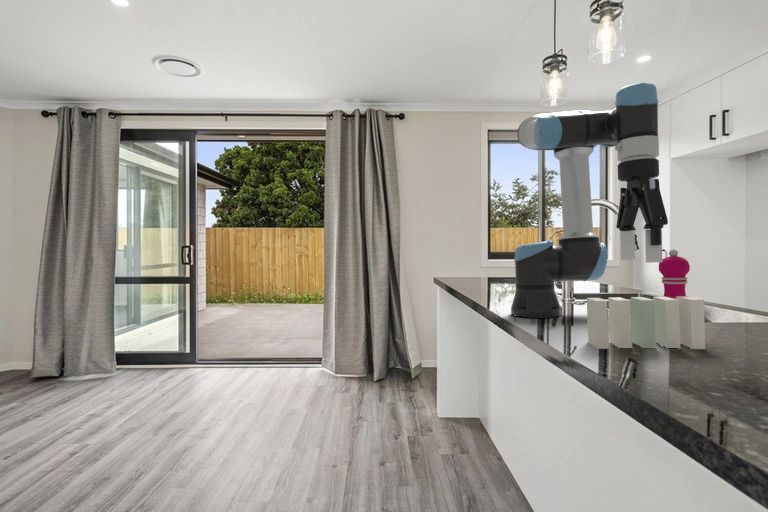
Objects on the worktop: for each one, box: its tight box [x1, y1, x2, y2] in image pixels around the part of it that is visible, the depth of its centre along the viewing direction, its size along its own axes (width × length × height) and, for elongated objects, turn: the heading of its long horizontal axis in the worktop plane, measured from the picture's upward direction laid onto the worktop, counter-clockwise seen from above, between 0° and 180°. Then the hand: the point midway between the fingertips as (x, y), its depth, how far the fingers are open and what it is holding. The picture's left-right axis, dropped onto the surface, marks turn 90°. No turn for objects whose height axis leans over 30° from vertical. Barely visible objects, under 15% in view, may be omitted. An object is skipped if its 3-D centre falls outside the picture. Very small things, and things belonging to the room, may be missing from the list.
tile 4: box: [652, 296, 681, 350], centre depth 90 cm, size 6×2×10 cm, turn 169°
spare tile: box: [630, 296, 657, 349], centre depth 91 cm, size 6×2×10 cm, turn 169°
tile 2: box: [607, 296, 633, 349], centre depth 92 cm, size 6×2×10 cm, turn 169°
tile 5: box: [676, 295, 706, 350], centre depth 89 cm, size 6×2×10 cm, turn 169°
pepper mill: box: [658, 249, 691, 299], centre depth 100 cm, size 7×7×20 cm
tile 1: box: [586, 297, 610, 350], centre depth 92 cm, size 6×2×10 cm, turn 169°
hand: (640, 261), depth 91 cm, fingers open, 13 cm apart
